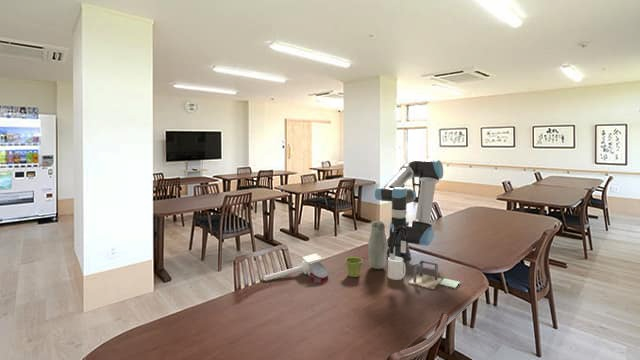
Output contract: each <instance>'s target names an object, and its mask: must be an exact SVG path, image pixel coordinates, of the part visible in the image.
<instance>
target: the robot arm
mask: <svg viewBox="0 0 640 360" xmlns="http://www.w3.org/2000/svg"><path fill="white" fill-rule="evenodd" d="M443 177H444V165H443V163H442V162H441V161H440V159H434V158H433V159H424V158H422V159H420V158H417V159H412V160H409V161H407V162H406V163H404V164H403V165H402V166H401V167H400V168H399V170H398V172H397V173H396V174H395V175H394V176H393V177H392V178H391V179H390V180H389V181H388V182H387V183H386V184H385V185H384V186H383V187H382V186H381V187H376V188H375V190H374V198H375V199H376V200H377V201H382V202H391V220H390V221H391V222H390V223H389V229H388V230H389V235H388V236H389V238H388V241H387V256H386V259H388V258H389V257H390V259H393V260H395V256H396V257H401V258H403V259H404V261H408V260H410V259H411V257H412V255H411V249H410V248H409V244H413V245H418V246H419V245H420V246H425V247H428V246H430V245H431V244H432V242H433V240H434V238H435V237H434V236H435V228H434V227H433V223H432V222H431V216H432V210H433V203H434V195H435V190H436V185H437V184H438V183H439V182H440V180H441V179H443ZM412 178H419V181H420V182H421V183H420V188H419V195H418V201H417V208H416V214H415V218H414V220H412V221H411V223H412V224H411V223H409V221H408V220H407V212H408V211H407V204H411V203H413V202H414V201H415V200H416V199H417V198H416V197H417V194H416V192H415V190H414V189H412V188H407V187H403V186H404V185H405V183H407V181H408V180H411V179H412Z"/></svg>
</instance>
